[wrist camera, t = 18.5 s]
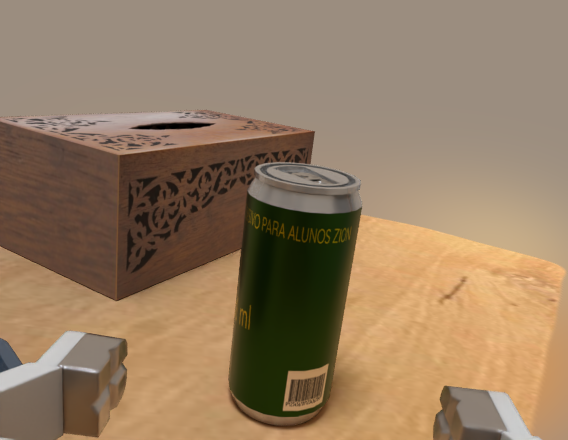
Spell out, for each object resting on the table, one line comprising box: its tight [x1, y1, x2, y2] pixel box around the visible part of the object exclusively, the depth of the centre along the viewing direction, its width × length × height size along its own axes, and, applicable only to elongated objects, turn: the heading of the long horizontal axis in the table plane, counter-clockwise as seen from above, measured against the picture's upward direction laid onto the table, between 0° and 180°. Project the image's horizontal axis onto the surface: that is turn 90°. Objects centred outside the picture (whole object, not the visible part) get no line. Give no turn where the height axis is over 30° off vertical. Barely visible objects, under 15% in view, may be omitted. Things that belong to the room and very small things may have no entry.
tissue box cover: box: [0, 110, 315, 301], centre depth 47 cm, size 26×14×10 cm, turn 148°
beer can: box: [228, 162, 362, 426], centre depth 25 cm, size 5×5×12 cm
